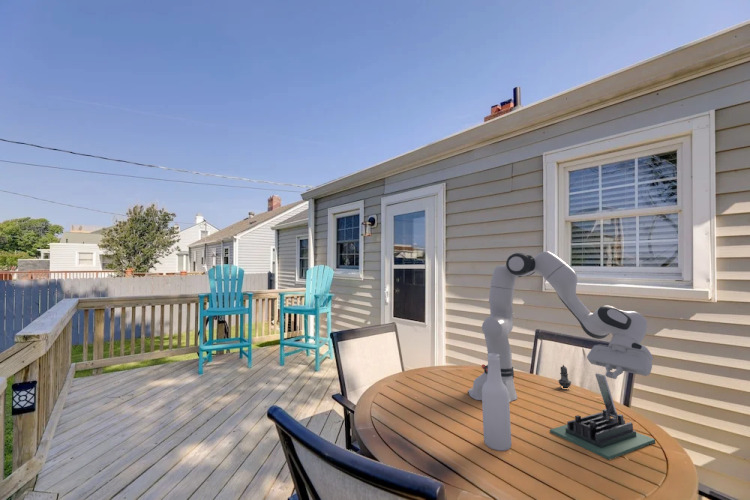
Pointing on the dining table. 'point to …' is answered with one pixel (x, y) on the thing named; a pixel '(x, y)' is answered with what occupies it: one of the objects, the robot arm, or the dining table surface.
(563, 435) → the circuit board
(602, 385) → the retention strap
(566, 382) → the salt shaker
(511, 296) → the robot arm
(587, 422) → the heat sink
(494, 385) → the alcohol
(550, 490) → the dining table surface
